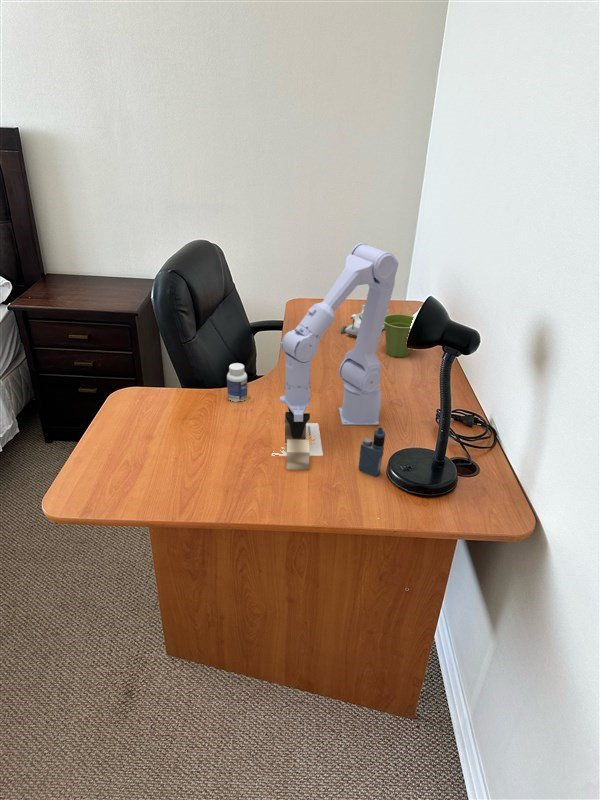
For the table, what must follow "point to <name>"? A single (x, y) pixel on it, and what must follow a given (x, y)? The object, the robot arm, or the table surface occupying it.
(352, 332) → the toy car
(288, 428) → the walnut block
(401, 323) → the plant pot
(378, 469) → the vaping device
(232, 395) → the pill bottle
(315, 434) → the letter
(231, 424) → the table surface
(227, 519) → the table surface
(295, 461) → the beech block
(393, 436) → the table surface
